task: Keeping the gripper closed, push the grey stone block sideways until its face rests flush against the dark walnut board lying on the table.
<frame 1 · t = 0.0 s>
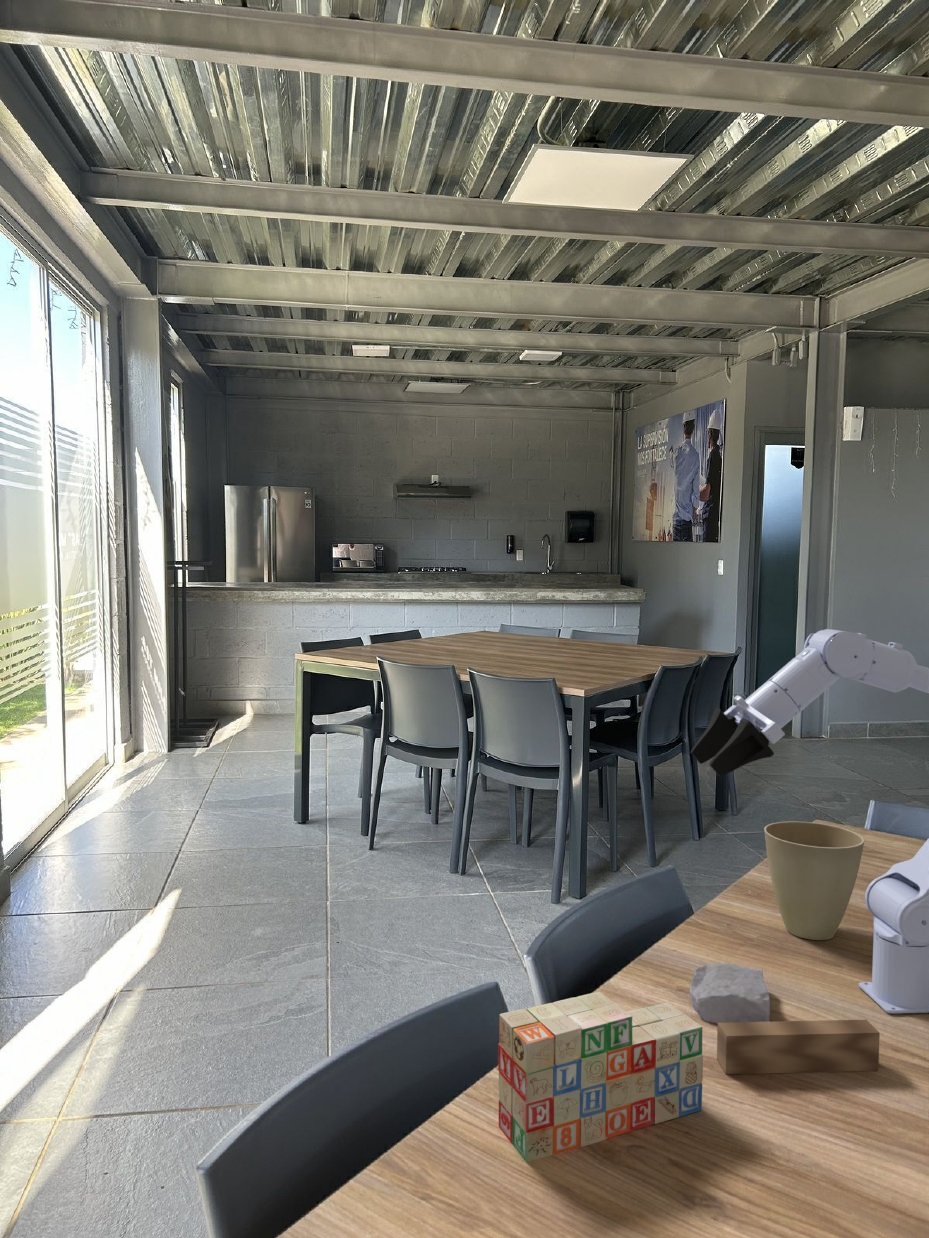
hand: (704, 764, 116), 32 cm above the table, tool tilted 50°, fingers open, 7 cm apart
stone block: (727, 1006, 118), on the table
board: (796, 1064, 103), on the table
plant pot: (810, 932, 142), on the table
stack of blocks: (601, 1121, 93), on the table
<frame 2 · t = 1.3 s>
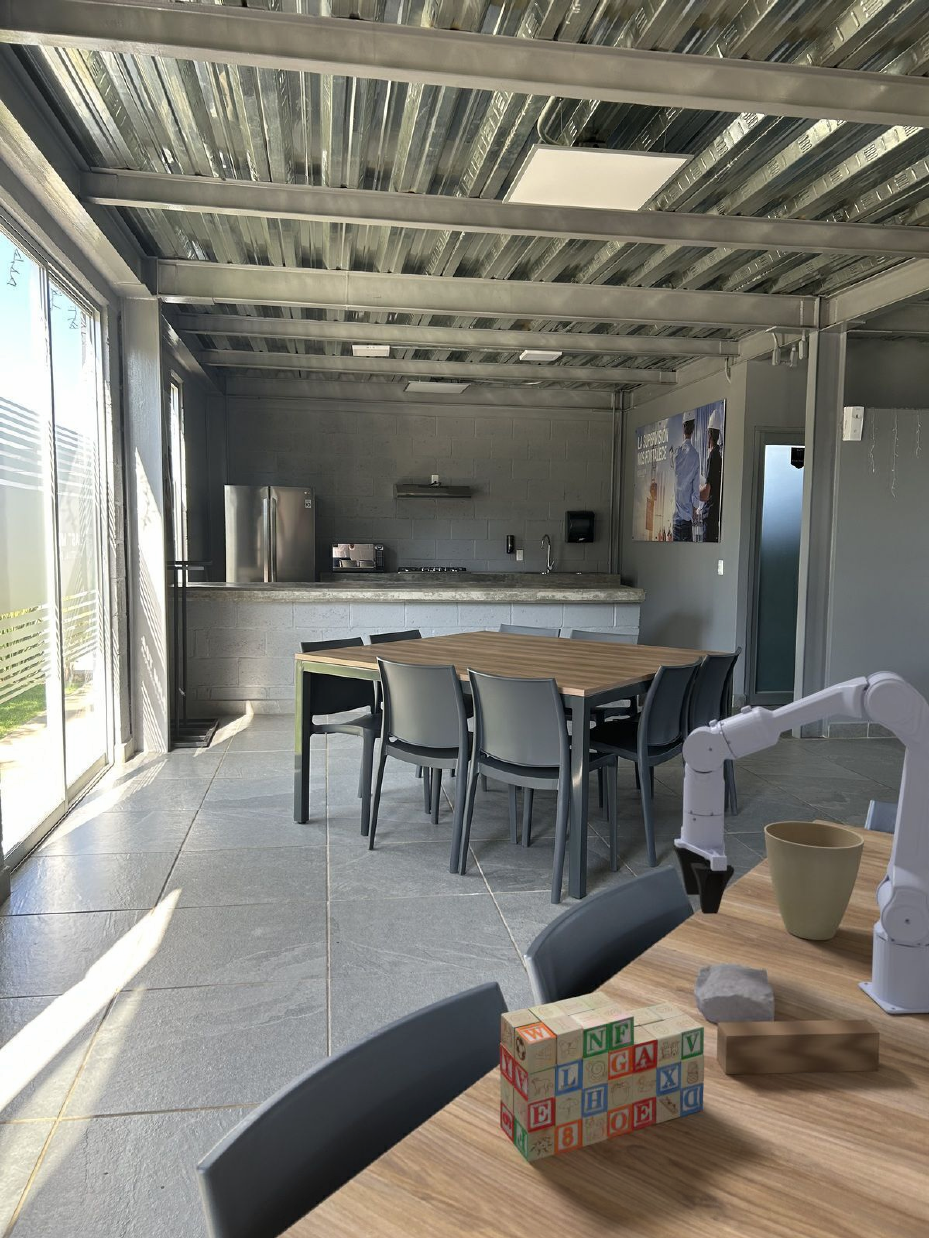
hand: (701, 903, 128), 9 cm above the table, tool pointing down, fingers open, 7 cm apart
nothing on the table moved.
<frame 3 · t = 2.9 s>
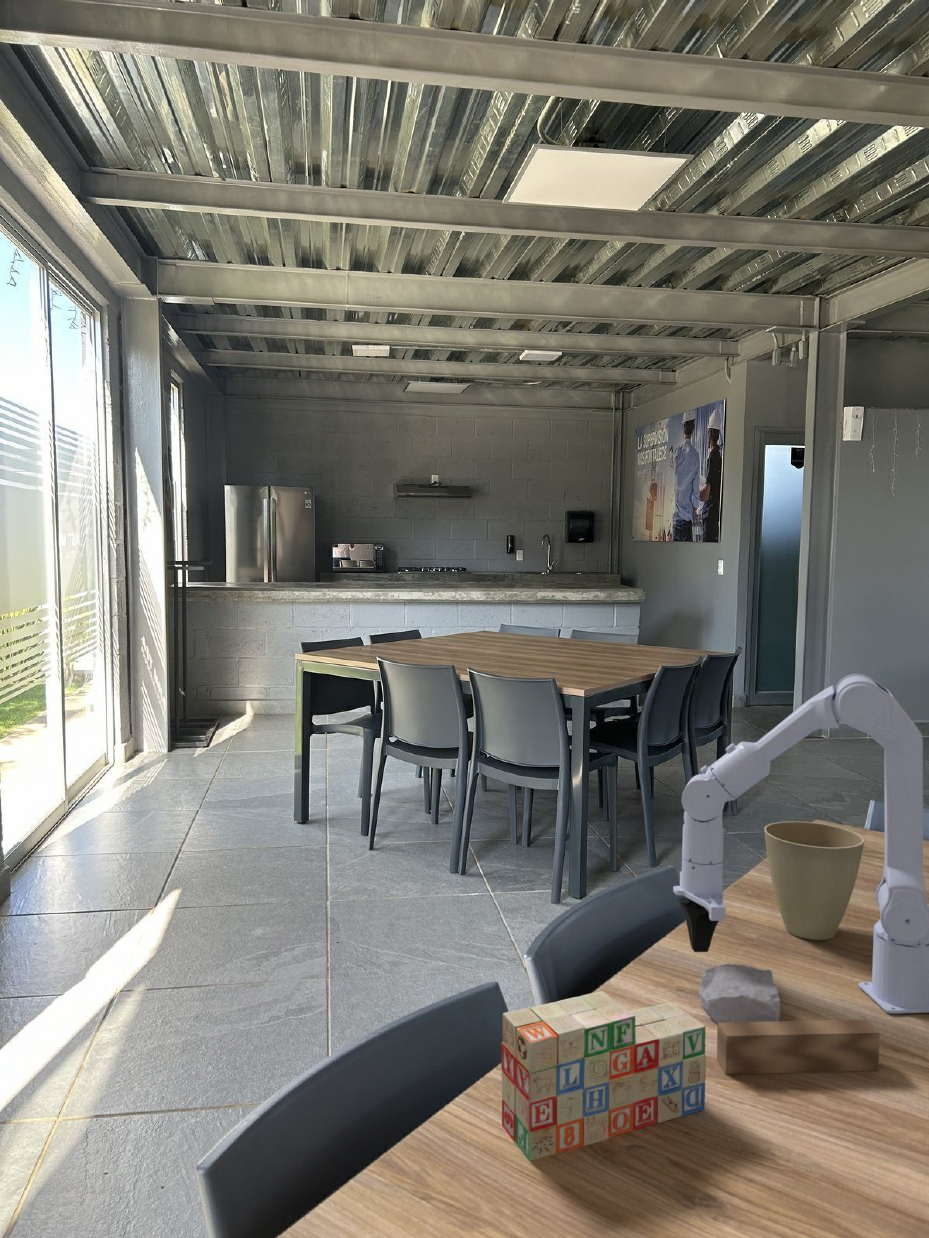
hand: (699, 950, 129), 2 cm above the table, tool pointing down, fingers closed
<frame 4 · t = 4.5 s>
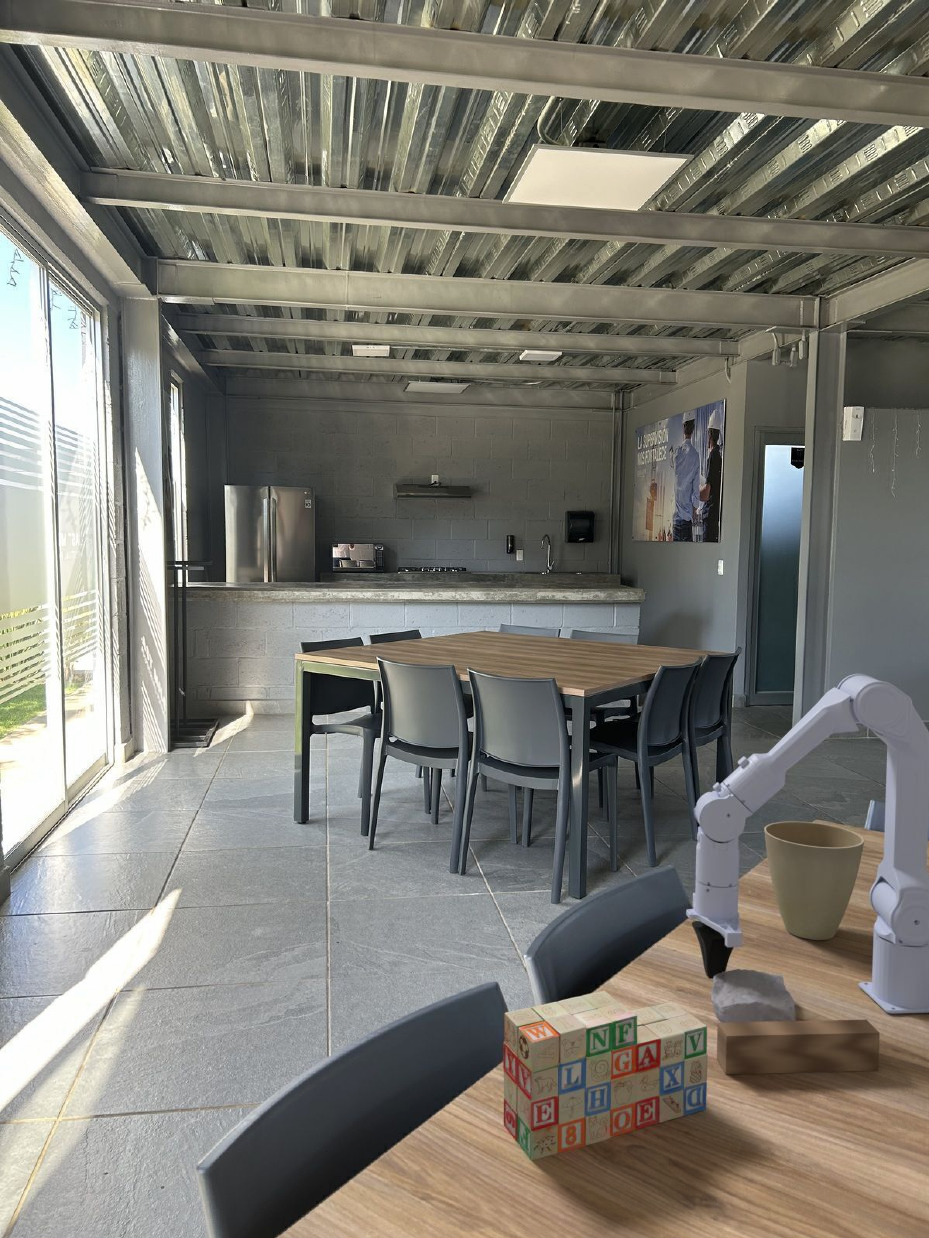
hand: (714, 976, 123), 1 cm above the table, tool pointing down, fingers closed
stone block: (749, 1014, 116), on the table, touching gripper
everything else where it was.
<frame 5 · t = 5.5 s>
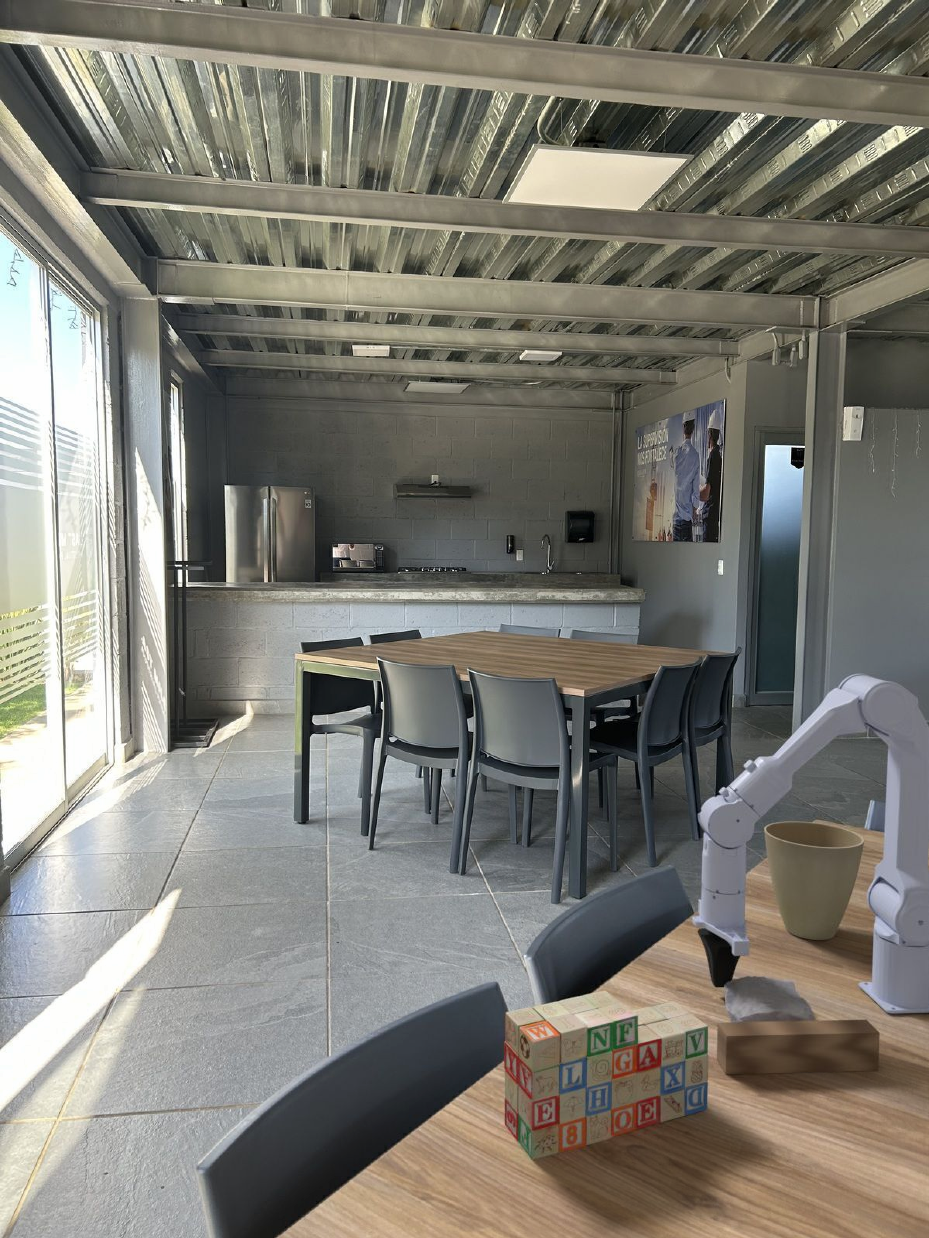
hand: (721, 985, 120), 1 cm above the table, tool pointing down, fingers closed
stone block: (763, 1022, 114), on the table
everything else where it was.
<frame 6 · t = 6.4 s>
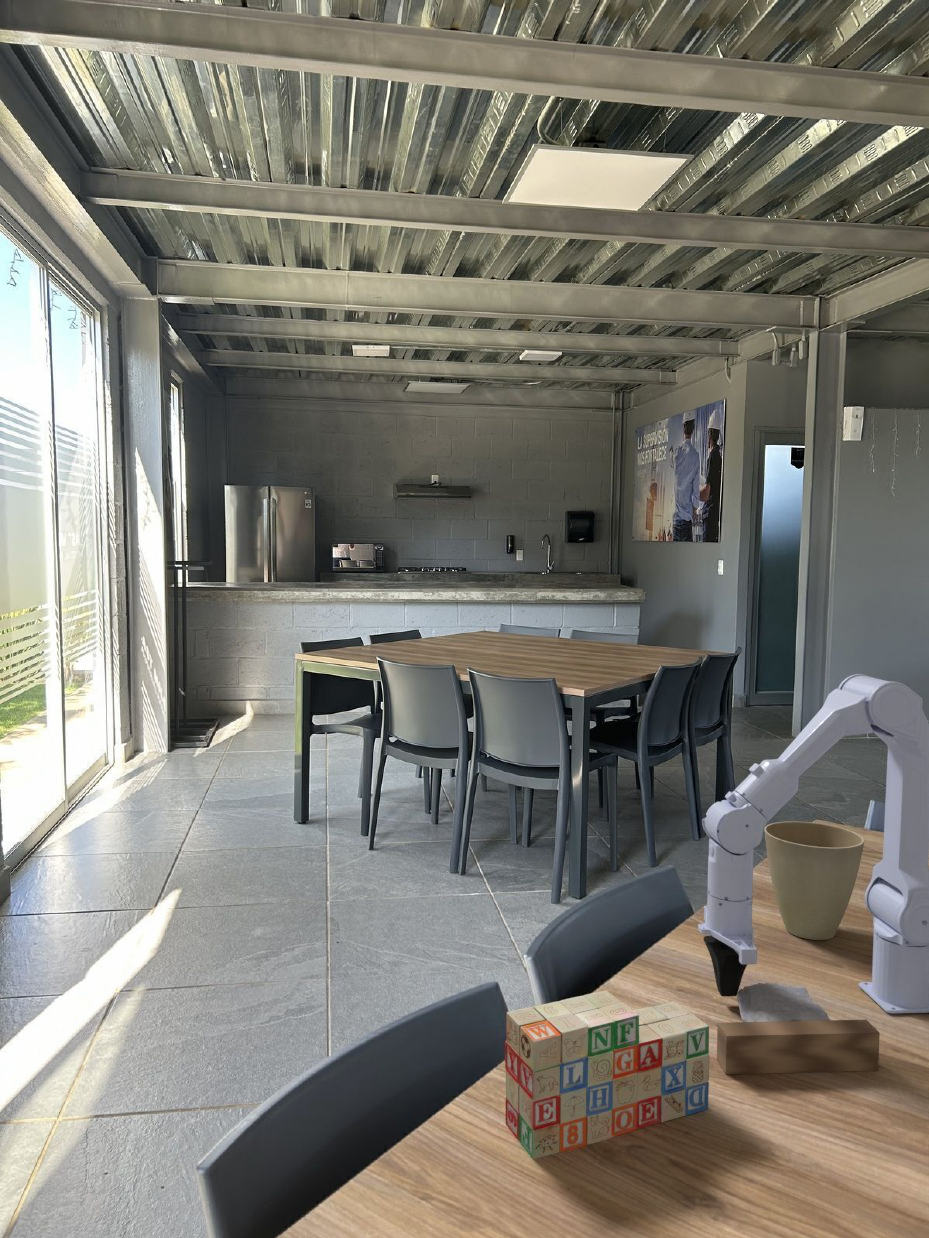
hand: (727, 993, 118), 1 cm above the table, tool pointing down, fingers closed
stone block: (778, 1030, 112), on the table
everything else where it was.
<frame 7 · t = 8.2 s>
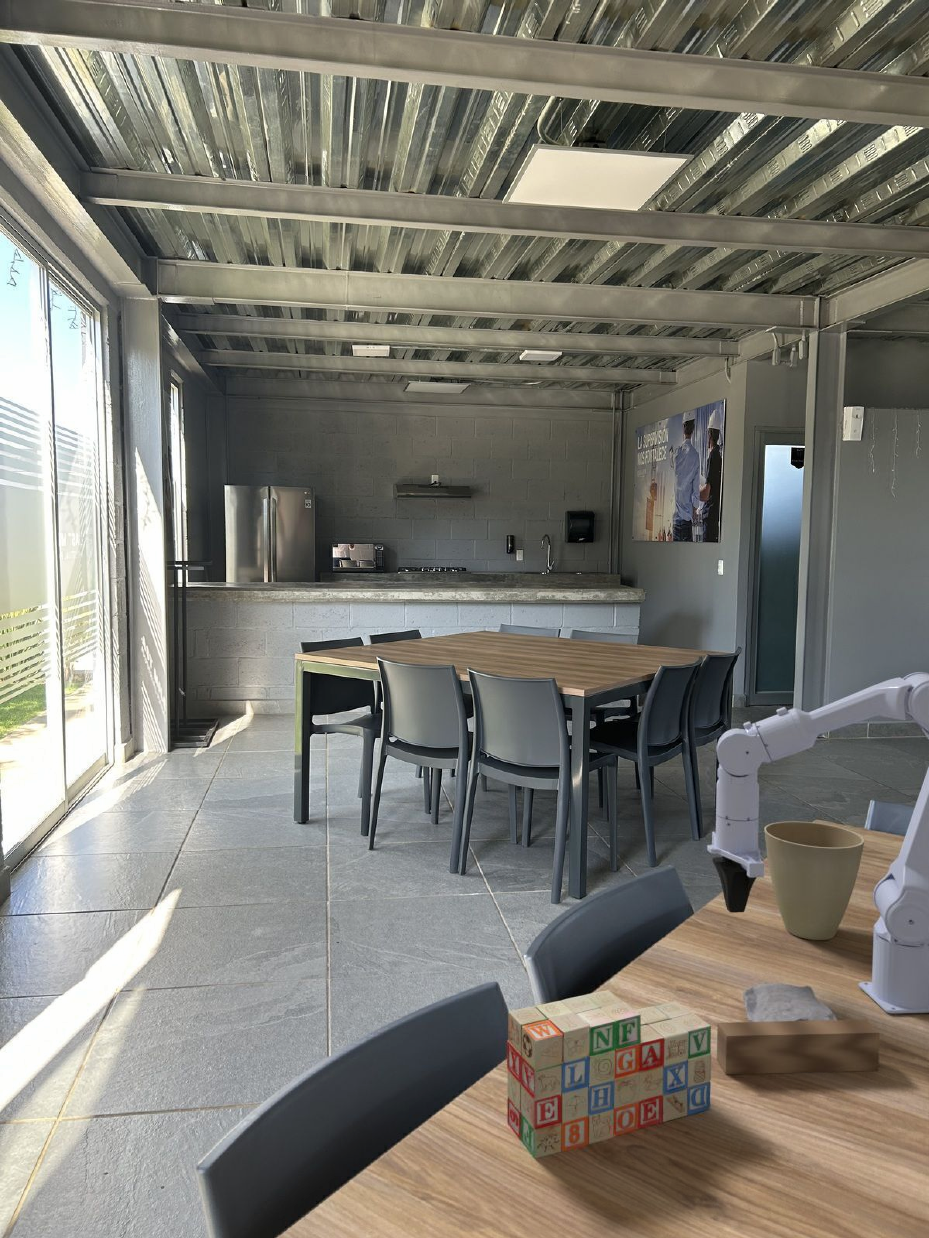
hand: (735, 910, 125), 10 cm above the table, tool pointing down, fingers closed
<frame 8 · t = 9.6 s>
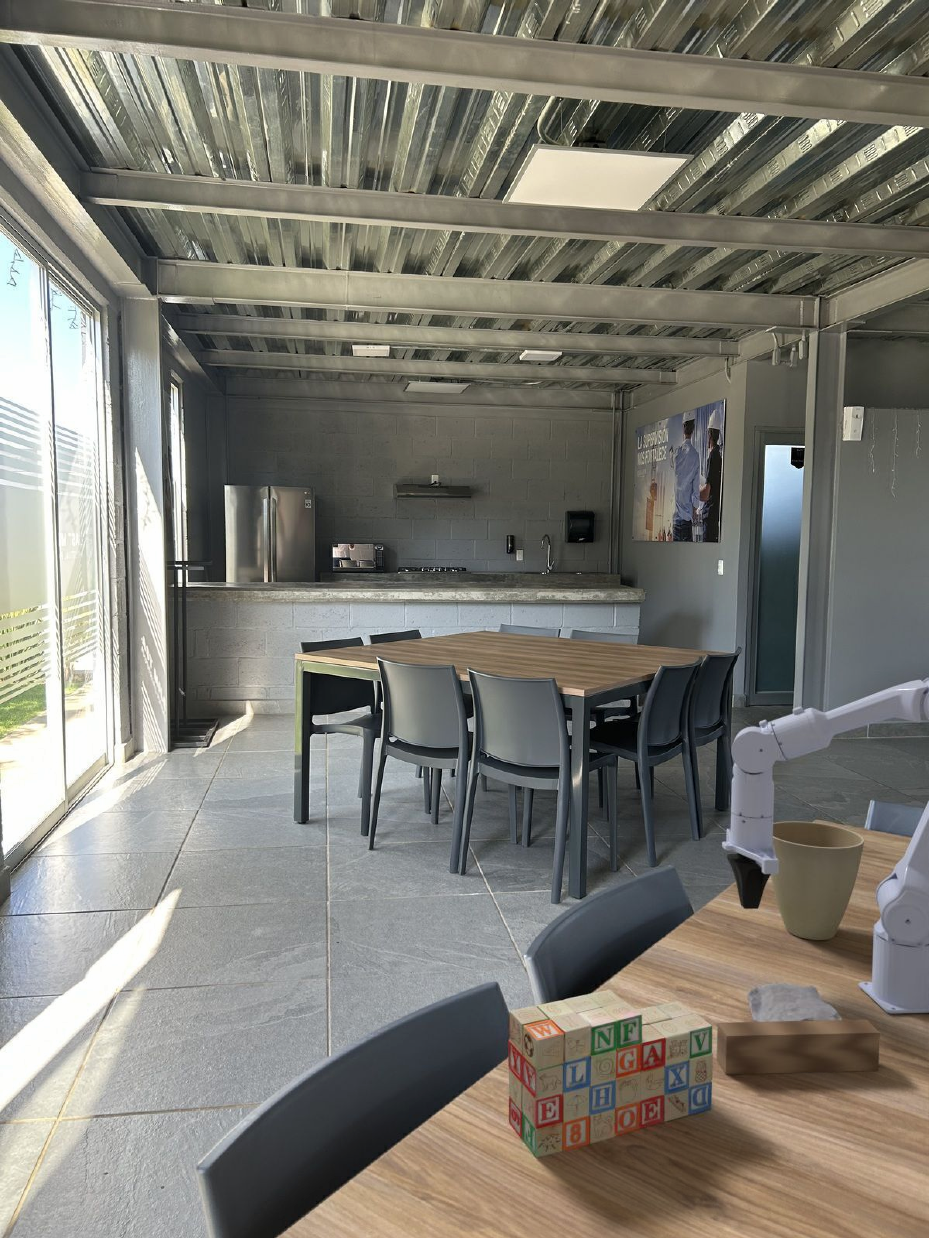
hand: (749, 907, 126), 10 cm above the table, tool pointing down, fingers closed
at the end: stone block inside the target area on the table beside the board (5.4 cm from its centre), on the table; stone block tilted 0° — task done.
